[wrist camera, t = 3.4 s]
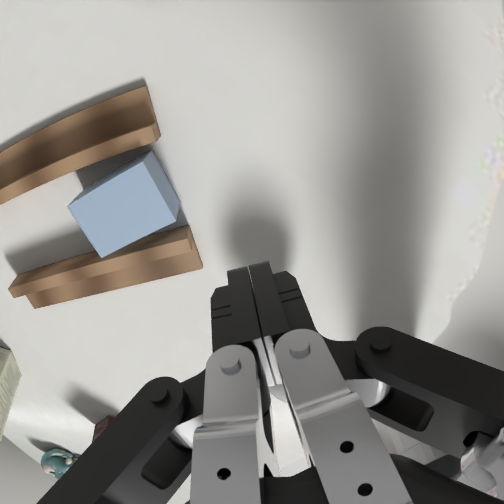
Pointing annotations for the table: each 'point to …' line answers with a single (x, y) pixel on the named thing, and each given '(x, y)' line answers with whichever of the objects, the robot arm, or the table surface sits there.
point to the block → (126, 205)
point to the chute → (78, 156)
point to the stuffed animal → (56, 462)
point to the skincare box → (7, 384)
